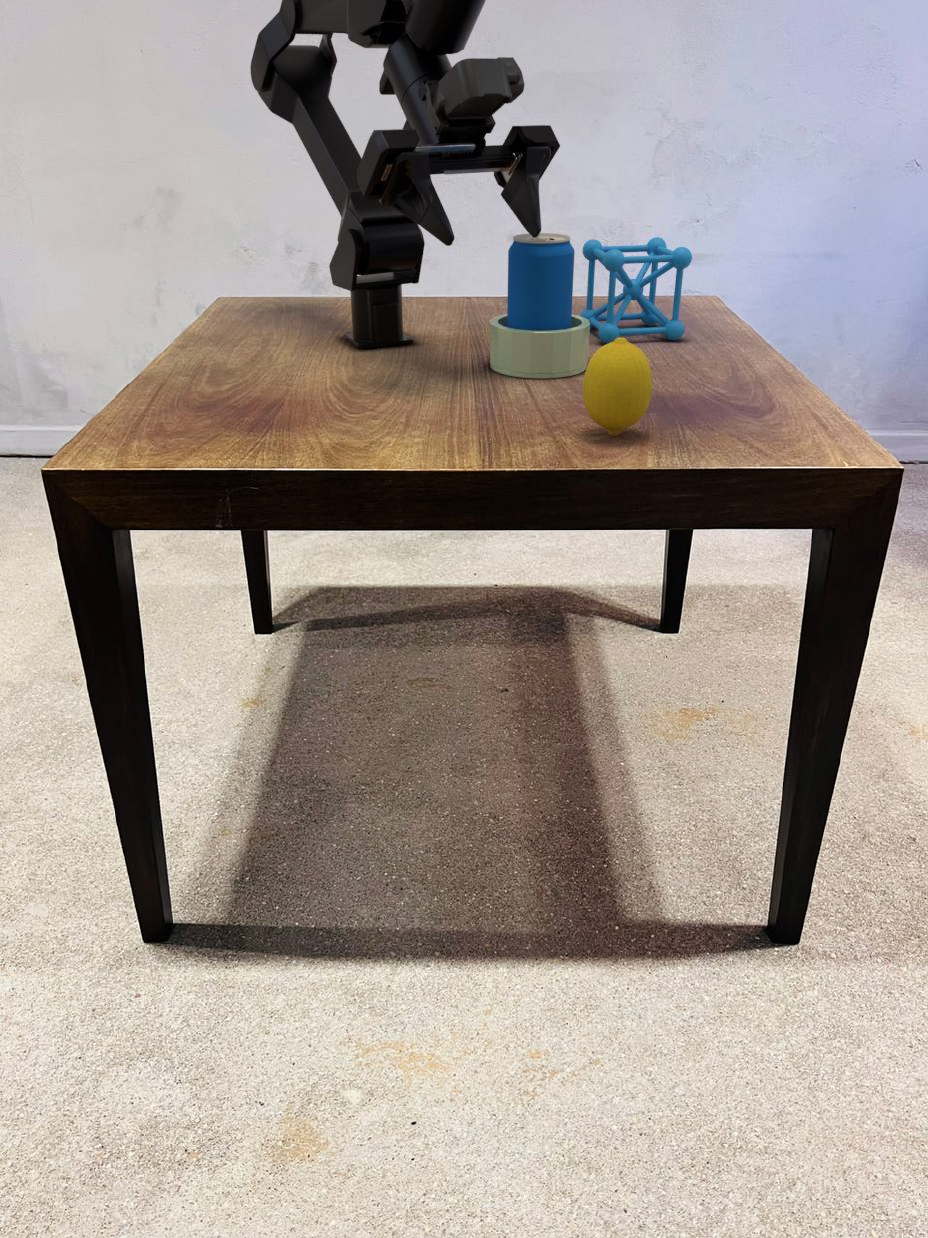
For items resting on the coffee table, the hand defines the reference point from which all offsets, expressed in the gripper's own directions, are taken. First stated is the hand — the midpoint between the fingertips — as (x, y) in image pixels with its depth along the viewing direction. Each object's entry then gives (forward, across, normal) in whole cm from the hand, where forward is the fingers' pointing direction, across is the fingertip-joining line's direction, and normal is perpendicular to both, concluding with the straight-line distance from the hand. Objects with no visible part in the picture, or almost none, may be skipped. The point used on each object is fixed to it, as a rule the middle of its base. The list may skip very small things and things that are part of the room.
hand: (495, 238), depth 87 cm
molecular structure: (+2, +26, +18) cm, 31 cm away
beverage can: (+6, +9, +13) cm, 17 cm away
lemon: (+22, +1, -2) cm, 22 cm away
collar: (+6, +9, +13) cm, 17 cm away
